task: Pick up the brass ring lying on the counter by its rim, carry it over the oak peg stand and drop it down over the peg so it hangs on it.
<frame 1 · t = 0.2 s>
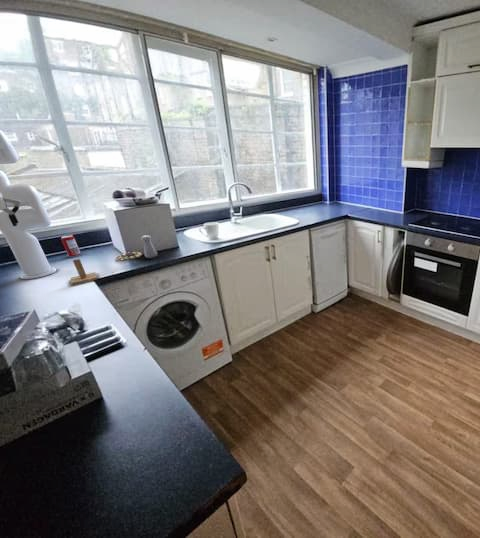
peg stand: (84, 279, 138), on the table
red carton: (75, 256, 171), on the table
ring: (129, 257, 163), point 1 cm above the table
salt shaker: (152, 258, 163), on the table
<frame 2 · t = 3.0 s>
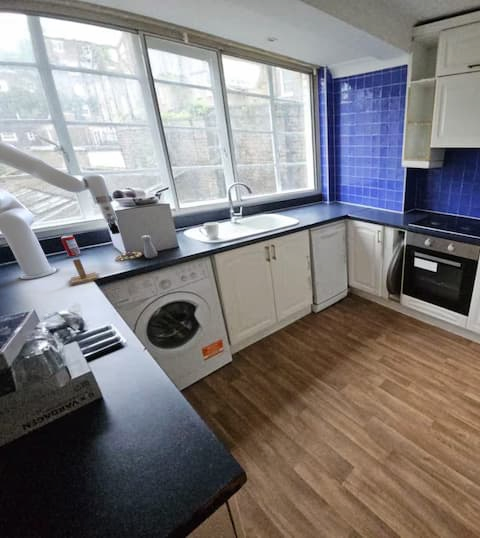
hand: (115, 232, 157), 16 cm above the table, tool pointing down, fingers open, 9 cm apart
nothing on the table moved.
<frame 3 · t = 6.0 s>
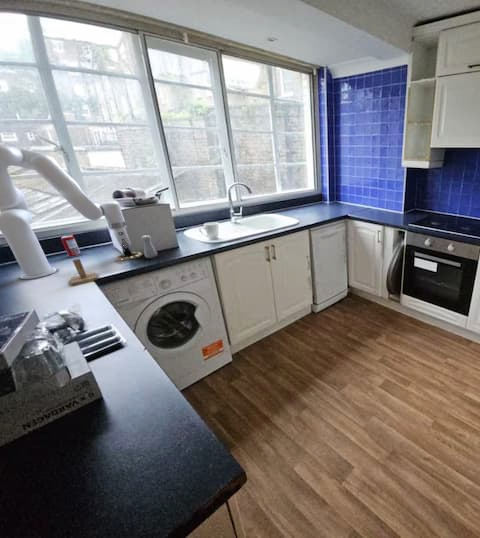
hand: (128, 256, 166), 0 cm above the table, tool pointing down, fingers closed on ring, 2 cm apart
ring: (129, 256, 163), point 1 cm above the table, touching gripper
everything else where it was.
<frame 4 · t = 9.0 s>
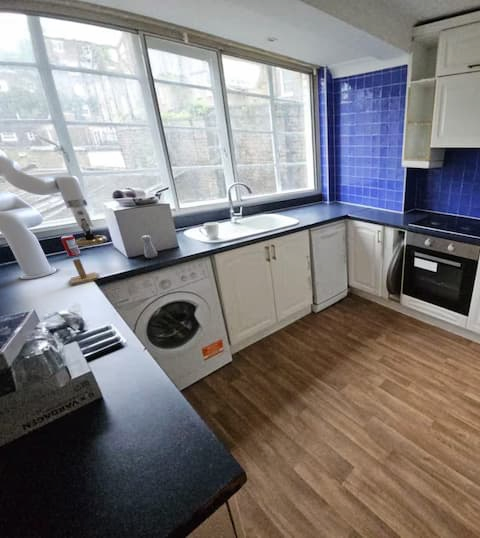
hand: (90, 240, 144), 15 cm above the table, tool pointing down, fingers closed on ring, 2 cm apart
ring: (91, 240, 141), point 16 cm above the table, touching gripper
everything else where it was.
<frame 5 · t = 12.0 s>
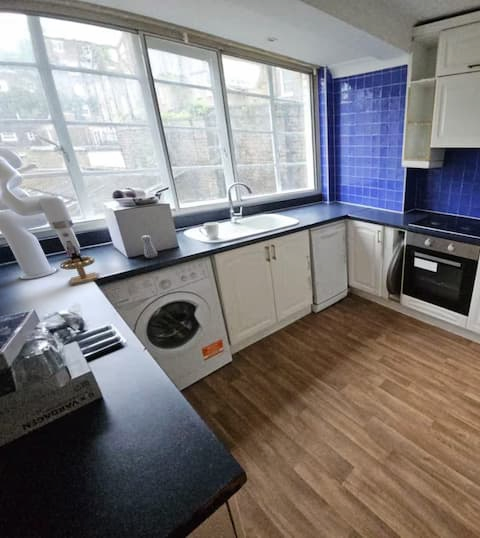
hand: (78, 262, 138), 7 cm above the table, tool pointing down, fingers closed on ring, 2 cm apart
ring: (77, 262, 134), point 8 cm above the table, touching gripper
everything else where it was.
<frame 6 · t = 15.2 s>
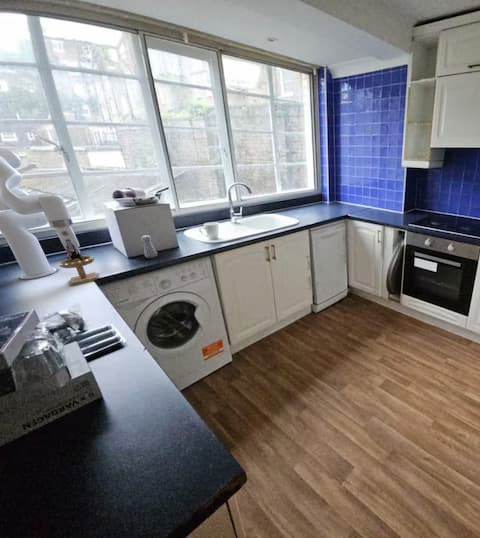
hand: (77, 261, 138), 8 cm above the table, tool pointing down, fingers closed on ring, 2 cm apart
ring: (77, 261, 134), point 9 cm above the table, touching gripper
everything else where it was.
when the fingers open (9 cm above the table, at t = 17.9 s): ring drops 8 cm, resting on peg stand.
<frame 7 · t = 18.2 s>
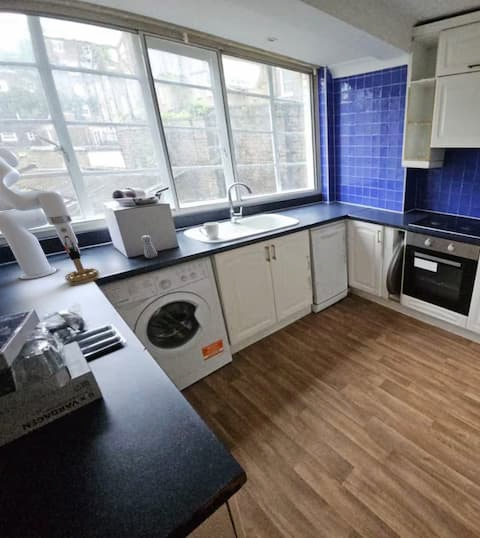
hand: (75, 257, 137), 10 cm above the table, tool pointing down, fingers open, 5 cm apart
ring: (82, 274, 137), point 2 cm above the table, touching peg stand
everything else where it was.
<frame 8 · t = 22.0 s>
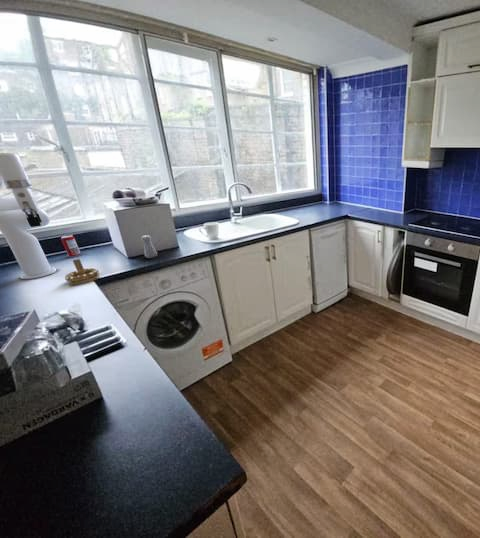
hand: (36, 224, 130), 26 cm above the table, tool pointing down, fingers open, 9 cm apart
nothing on the table moved.
at the end: ring 0.7 cm from the peg stand (horizontally); ring point 2.4 cm above the table; the gripper is holding nothing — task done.
